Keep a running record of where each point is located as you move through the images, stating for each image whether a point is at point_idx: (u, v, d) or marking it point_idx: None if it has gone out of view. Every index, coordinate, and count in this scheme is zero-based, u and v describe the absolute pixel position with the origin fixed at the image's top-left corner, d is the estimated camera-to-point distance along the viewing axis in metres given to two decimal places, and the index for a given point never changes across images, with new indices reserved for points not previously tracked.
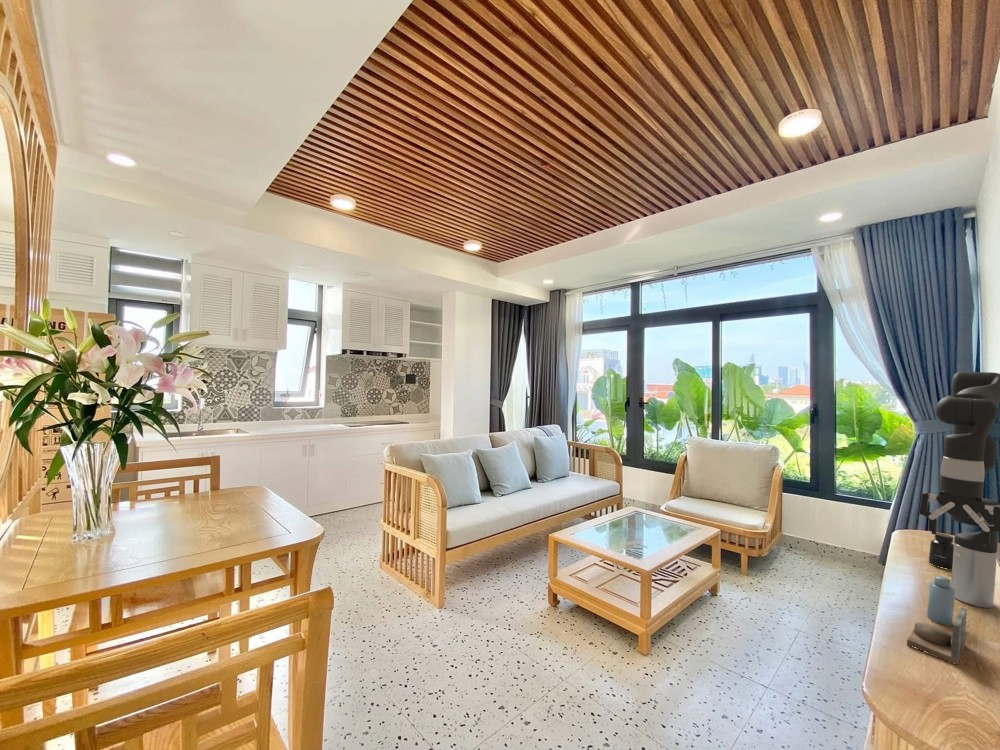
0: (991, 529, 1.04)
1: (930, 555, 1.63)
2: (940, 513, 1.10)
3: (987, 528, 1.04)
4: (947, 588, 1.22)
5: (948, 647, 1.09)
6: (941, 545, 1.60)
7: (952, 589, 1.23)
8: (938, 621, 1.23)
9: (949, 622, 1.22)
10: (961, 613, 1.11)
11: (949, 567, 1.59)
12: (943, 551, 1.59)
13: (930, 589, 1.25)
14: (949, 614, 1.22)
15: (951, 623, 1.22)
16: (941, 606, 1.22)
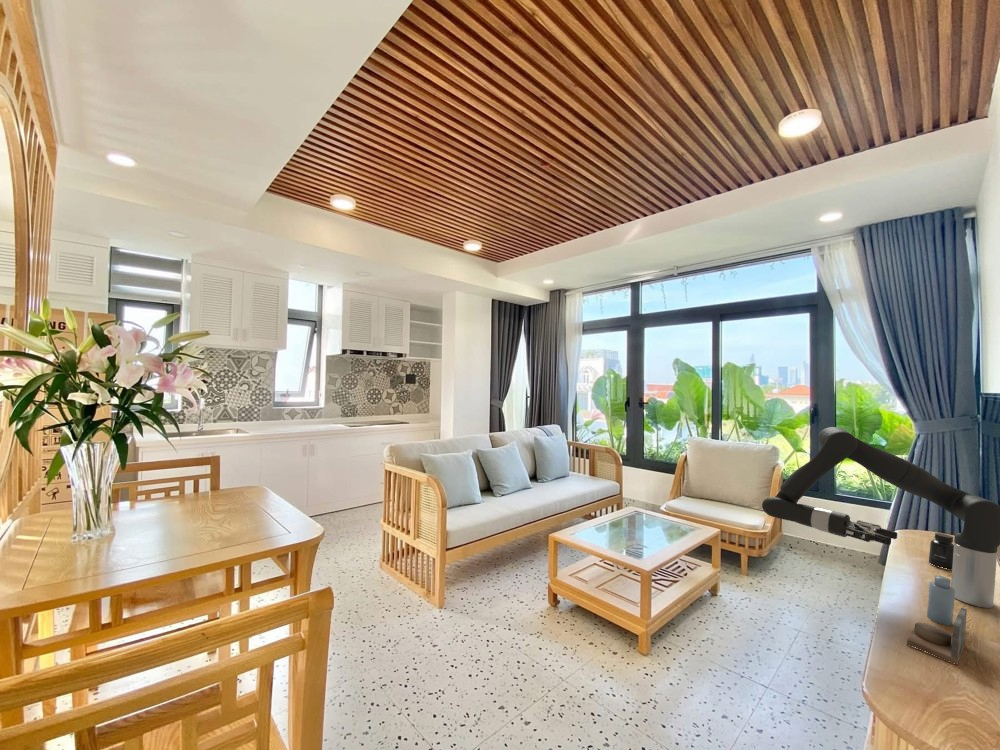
0: None
1: (930, 555, 1.63)
2: None
3: (870, 540, 1.33)
4: (947, 588, 1.22)
5: (948, 647, 1.09)
6: (941, 545, 1.60)
7: (952, 589, 1.23)
8: (938, 621, 1.23)
9: (949, 622, 1.22)
10: (961, 613, 1.11)
11: (949, 567, 1.59)
12: (943, 551, 1.59)
13: (930, 589, 1.25)
14: (949, 614, 1.22)
15: (951, 623, 1.22)
16: (941, 606, 1.22)
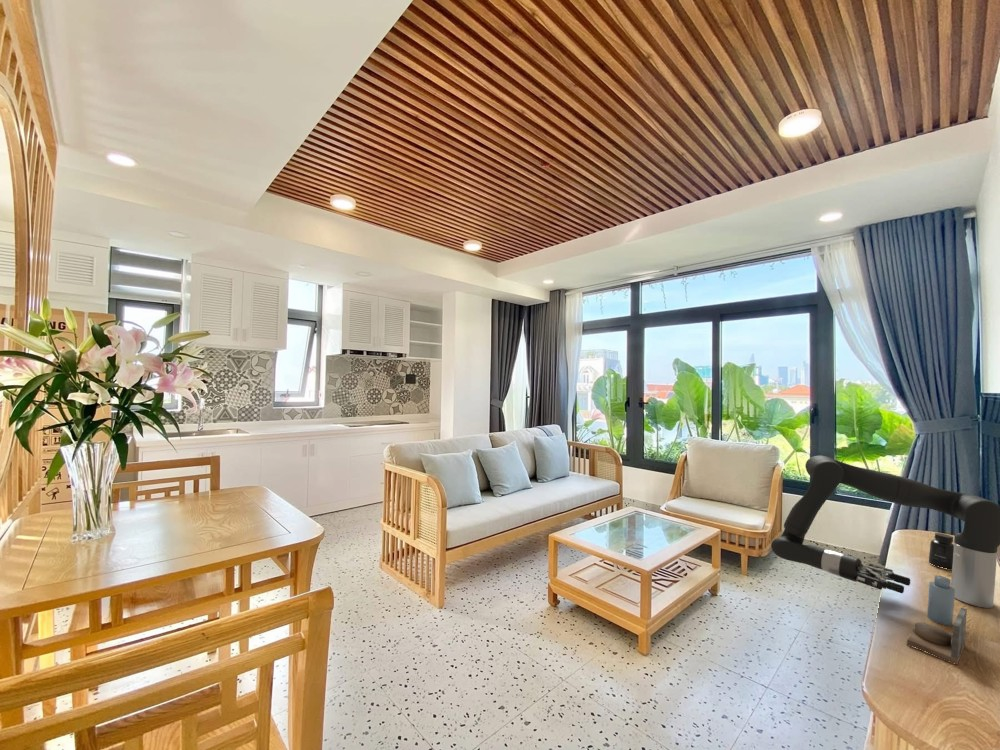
0: None
1: (930, 555, 1.63)
2: None
3: (882, 587, 1.31)
4: (947, 588, 1.22)
5: (948, 647, 1.09)
6: (941, 545, 1.60)
7: (952, 589, 1.23)
8: (938, 621, 1.23)
9: (949, 622, 1.22)
10: (961, 613, 1.11)
11: (949, 567, 1.59)
12: (943, 551, 1.59)
13: (930, 589, 1.25)
14: (949, 614, 1.22)
15: (951, 623, 1.22)
16: (941, 606, 1.22)
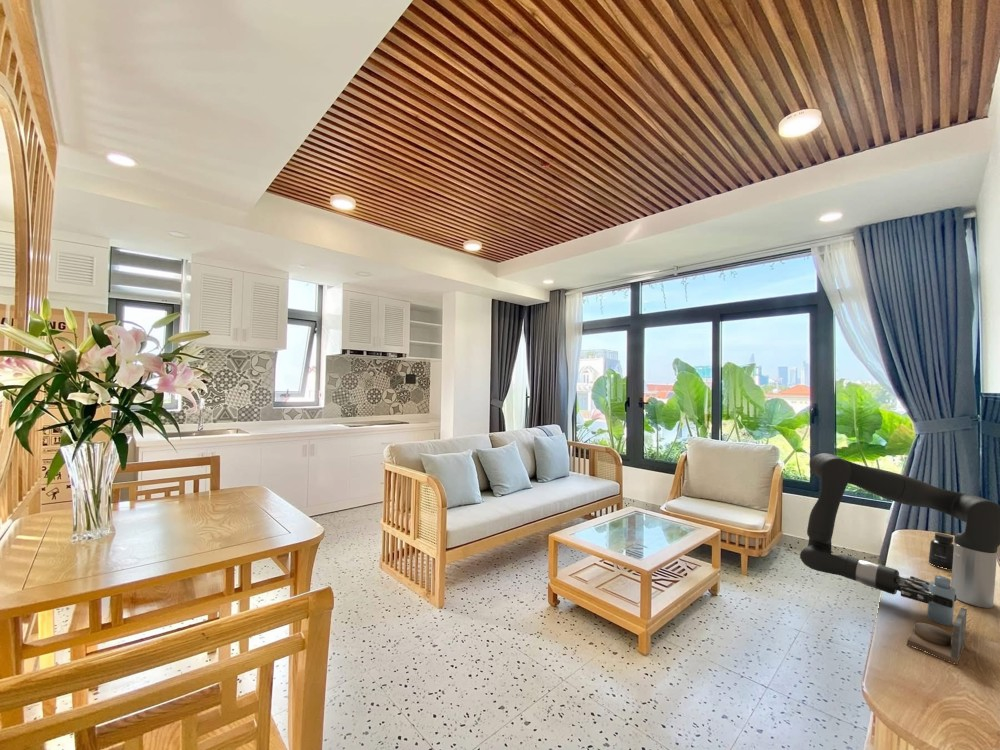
0: None
1: (930, 555, 1.63)
2: None
3: None
4: (947, 588, 1.22)
5: (948, 647, 1.09)
6: (941, 545, 1.60)
7: (952, 589, 1.22)
8: (938, 621, 1.23)
9: (949, 622, 1.22)
10: (961, 613, 1.11)
11: (949, 567, 1.59)
12: (943, 551, 1.59)
13: (930, 589, 1.25)
14: (949, 614, 1.22)
15: (951, 623, 1.22)
16: (941, 606, 1.22)
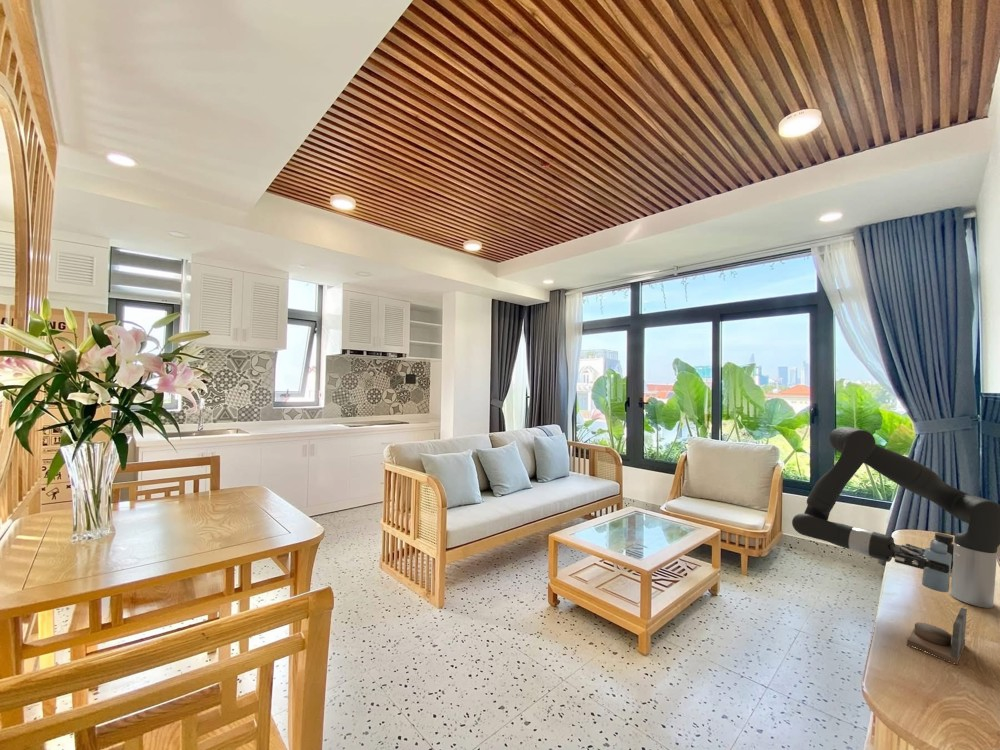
0: None
1: None
2: None
3: (924, 567, 1.18)
4: (943, 553, 1.17)
5: (948, 647, 1.09)
6: None
7: (949, 554, 1.17)
8: (933, 588, 1.17)
9: (945, 589, 1.16)
10: (961, 613, 1.11)
11: None
12: None
13: (926, 555, 1.19)
14: (945, 580, 1.16)
15: (947, 590, 1.16)
16: (936, 571, 1.17)
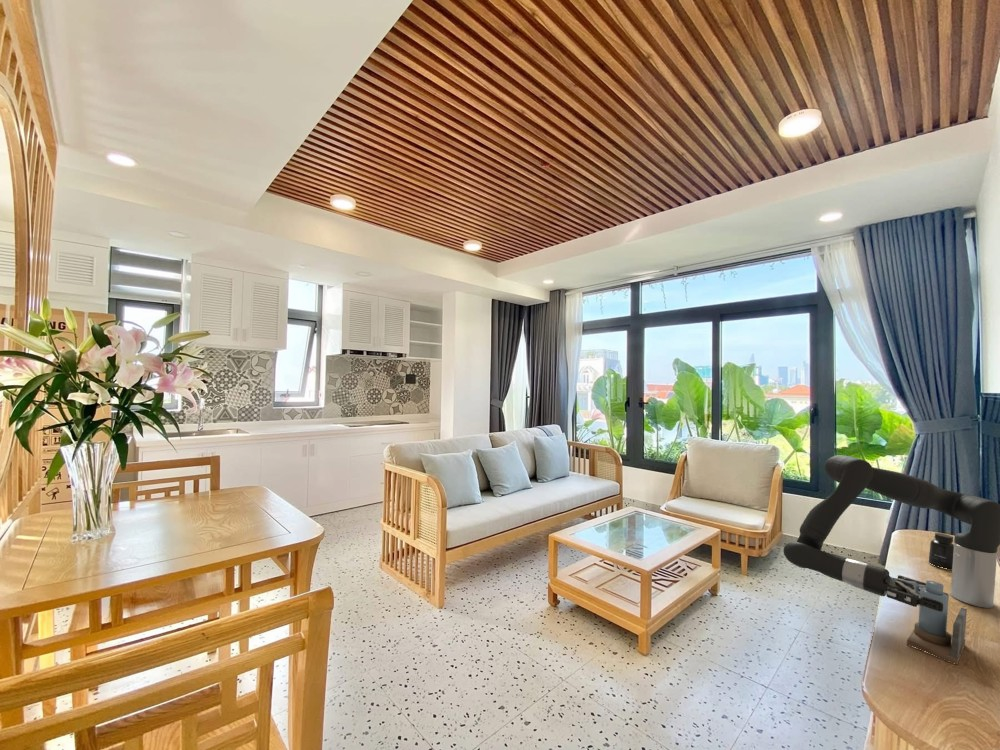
0: None
1: (930, 555, 1.63)
2: None
3: None
4: (940, 594, 1.11)
5: (948, 647, 1.09)
6: (941, 545, 1.60)
7: (945, 595, 1.11)
8: (930, 631, 1.11)
9: (942, 632, 1.10)
10: (961, 613, 1.11)
11: (949, 567, 1.59)
12: (943, 551, 1.59)
13: (921, 595, 1.14)
14: (942, 623, 1.10)
15: (944, 633, 1.11)
16: (933, 614, 1.11)
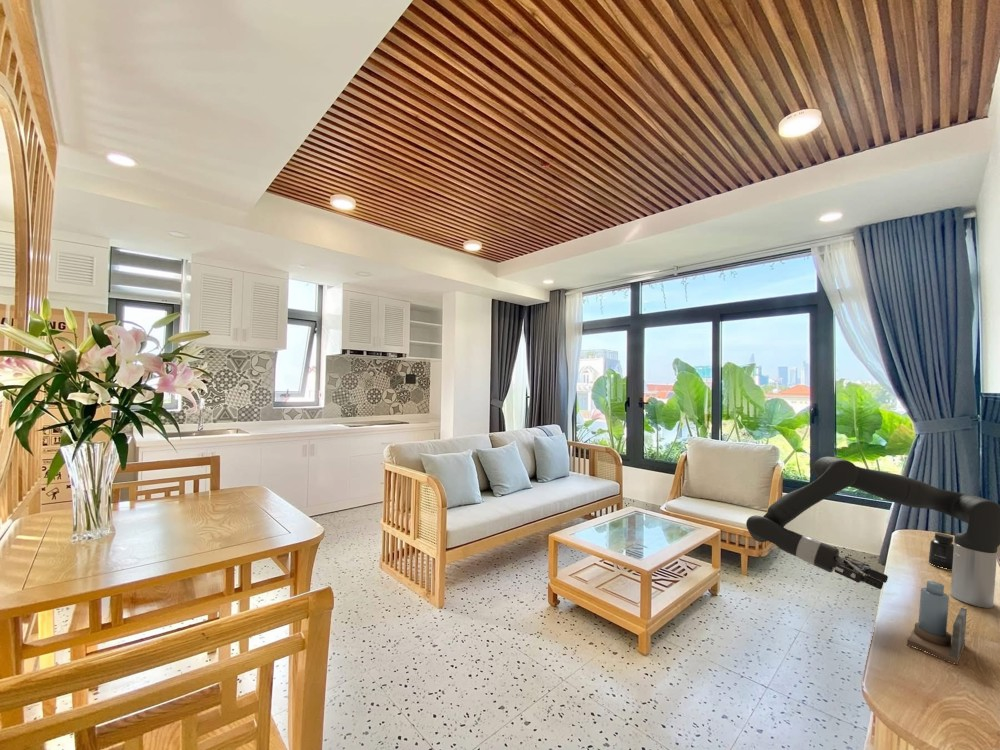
0: None
1: (930, 555, 1.63)
2: None
3: None
4: (940, 595, 1.11)
5: (948, 647, 1.09)
6: (941, 545, 1.60)
7: (946, 596, 1.11)
8: (930, 631, 1.11)
9: (942, 632, 1.10)
10: (961, 613, 1.11)
11: (949, 567, 1.59)
12: (943, 551, 1.59)
13: (922, 596, 1.14)
14: (942, 623, 1.10)
15: (945, 633, 1.11)
16: (933, 614, 1.11)
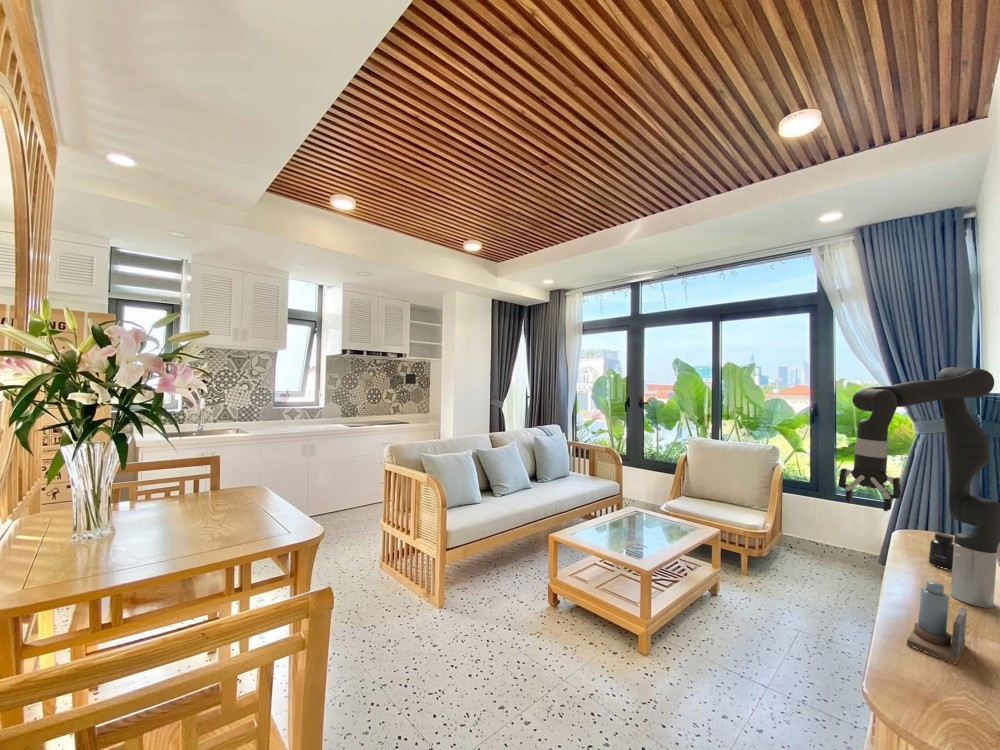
0: (891, 497, 1.26)
1: (930, 555, 1.63)
2: (854, 485, 1.32)
3: (888, 496, 1.26)
4: (940, 595, 1.11)
5: (948, 647, 1.09)
6: (941, 545, 1.60)
7: (946, 596, 1.11)
8: (930, 631, 1.11)
9: (942, 632, 1.10)
10: (961, 613, 1.11)
11: (949, 567, 1.59)
12: (943, 551, 1.59)
13: (922, 596, 1.14)
14: (942, 623, 1.10)
15: (945, 633, 1.11)
16: (933, 614, 1.11)
